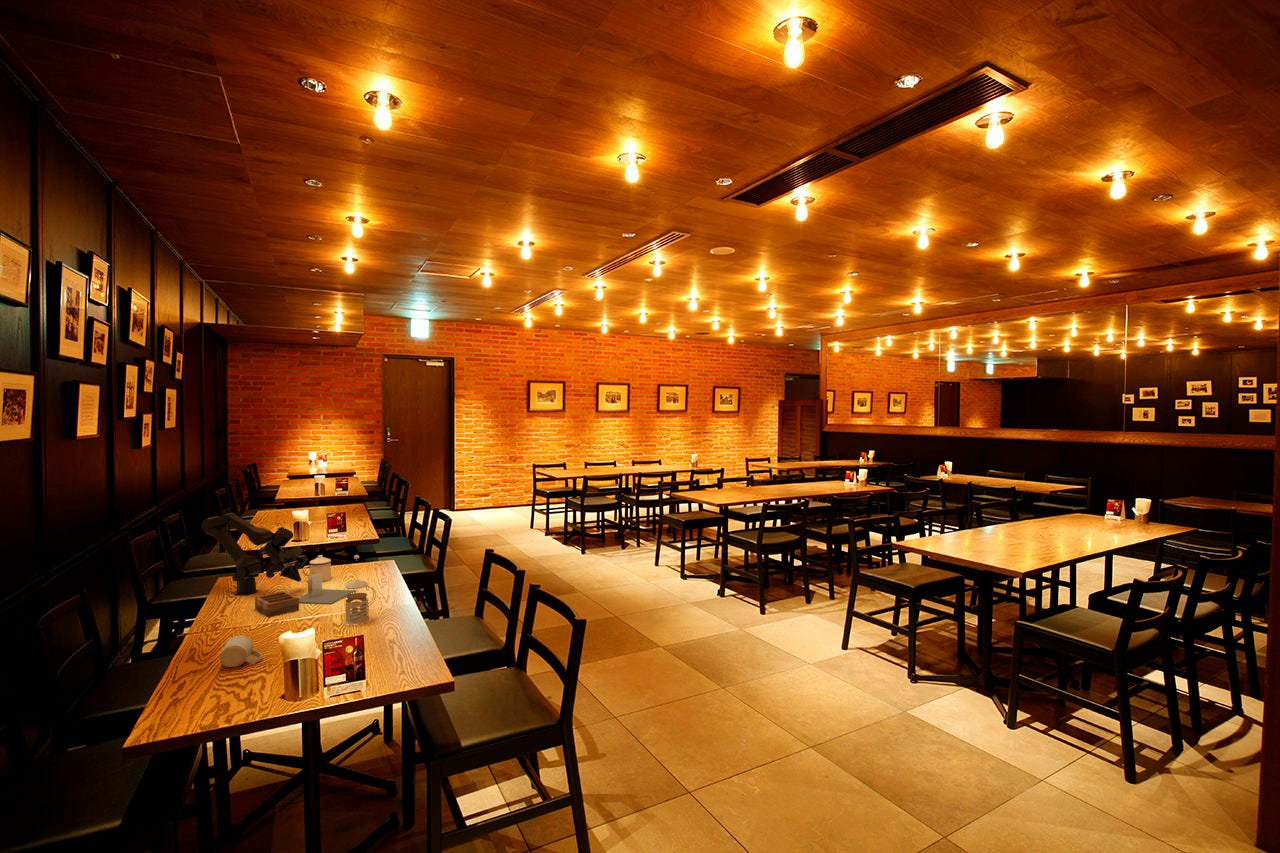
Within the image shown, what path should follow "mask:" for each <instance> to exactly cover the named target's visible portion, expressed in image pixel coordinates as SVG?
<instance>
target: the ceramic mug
mask: <svg viewBox="0 0 1280 853" xmlns="http://www.w3.org/2000/svg"><path fill="white" fill-rule="evenodd" d="M253 648H254V643H253V641H252V639H250V638H249V637H248V636H247V635H246V636H245V635H235V636H232V637H230V639H228V640H227V642H226V643H225V645H224V647H223V649H222V650H221V653H220V655H219V661H220V663H221V664H222V666H224V667H226V668H230V667H233V668H237V667H239V666H241V665H242V664H244V663H245V662H246V663H251V664H254V663H255V664H256V662H257V663H259V662H260V661H261V660H262V658H263V654H262V653H261V652H260V651H258V650H256V649H253ZM250 655H252V656H254V657H251V656H250ZM249 656H250V657H249ZM255 657H256V658H255ZM258 661H259V662H258ZM236 666H237V667H236Z"/></svg>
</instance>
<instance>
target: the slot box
mask: <svg viewBox="0 0 1280 853" xmlns="http://www.w3.org/2000/svg"><path fill="white" fill-rule="evenodd" d="M254 608H255V609H254V610H255V611H256V610H257V611H256V612H258V613H260V614H261V615H263V616H265V617H266V618H273V617H276V616H281V615H284V614H289V613H290V614H291V613H294V612H298V611H300V603H299V597H297V596H296V595H294V594H292V593H290V592H288V591H286V590H285V591H279V592H275V593H269V594H266V595H265V594H263V595H260V596H255V597H254Z"/></svg>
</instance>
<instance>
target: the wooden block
mask: <svg viewBox="0 0 1280 853" xmlns="http://www.w3.org/2000/svg"><path fill="white" fill-rule="evenodd" d="M322 589H323V582H322V573H316V574H313V575H311V576H307V594H308V598H314V597H316V596H319V595H321V594H322Z"/></svg>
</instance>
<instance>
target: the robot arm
mask: <svg viewBox="0 0 1280 853" xmlns="http://www.w3.org/2000/svg"><path fill="white" fill-rule="evenodd" d="M228 526H230V527H232V528H233V529H235V530H237V531H238V532H240V533H242V534H243V535H245V536H246V537H247V538H248V541H250V542H251V543H252V544H253V545H254V546H261V547H260V548H259V549H260V550H259V554H260V555H262V554H266V555H267V557H268V558H269V559H270V560H269V562H270V564H272V565H271V566H270V567H269V568H268V569H267V570H266V572H265V576H266V577H267V578H268V579H272V578H274V577H275V573H277V572H280V574H279V577H284V578H287V579H289V580H292V581H295V582H298V583H299V582H301V580H302V578H301V575H300V572H299V569H300V568H301V567H303V565H304V564H305V563H306V562H307V561H308V560H309V558H308V556H306V555H302V553H303V548H302V547H301V546H300V545H296V546H294V547H293V548H291V549H289V550H287V549H286V550H285V549H283V548H284V547H285V546H286V545H287V544H288V543H289V542H290V541H291V540H292V539H293V538H294V532H292V530H290V529H288V528H284V526H280V527H278V528H277V529H276V531H275V532H273V531H272V530H270V529H267V528H265V527H264V528H263V527H258V526H256V525H254V524H252V523H250V522H249V521H247V520H246V519H243V518H242V517H240V516H238V515H237V514H236V513H235V512H229V513H225V514H222V515H219V516H218V515H217V516H212V517H208V518H207V517H206V518H204V519H203V520H202V523H201V526H200V527H201V529H202V530H203V531H204V532H205V534H207V535H209V536H211V537H213V538H215V539H216V540H217V541H218V542H219V544H220V545H221V546H222V547H223V548H224V550H225V551H226V553H227V554H228V555H229V556H230V557H231V558H232V559H233V562H234V563H235V570H236V572H235V573H233V575H232V576H231V577H232V580H233V582H236V592H234V593H233V595H234V594H235V596H238V595H239V596H249V595H251V594H254V593H256V592H258V591H259V589H257V581H256V578H258V577H259V576H260V573H261V570H262V564H261V560H260V559H258V558H257V556H256V555H255V554H252V555H249V554H247V553H246V552H245V550H244V549H243V548H242V547H241V546H240V544H239V543H238V541H236V539H235V538H234V537H233V536H232V534H231V533H230V532H229V531H228V530H229V528H228Z"/></svg>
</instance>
